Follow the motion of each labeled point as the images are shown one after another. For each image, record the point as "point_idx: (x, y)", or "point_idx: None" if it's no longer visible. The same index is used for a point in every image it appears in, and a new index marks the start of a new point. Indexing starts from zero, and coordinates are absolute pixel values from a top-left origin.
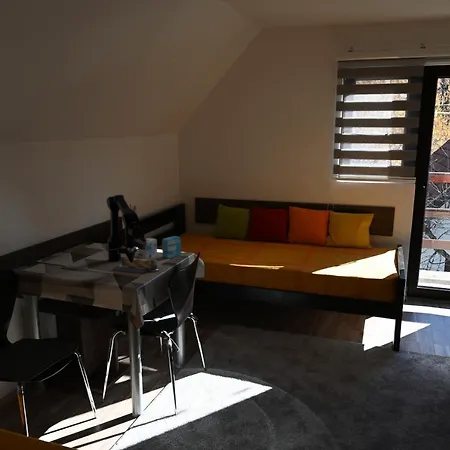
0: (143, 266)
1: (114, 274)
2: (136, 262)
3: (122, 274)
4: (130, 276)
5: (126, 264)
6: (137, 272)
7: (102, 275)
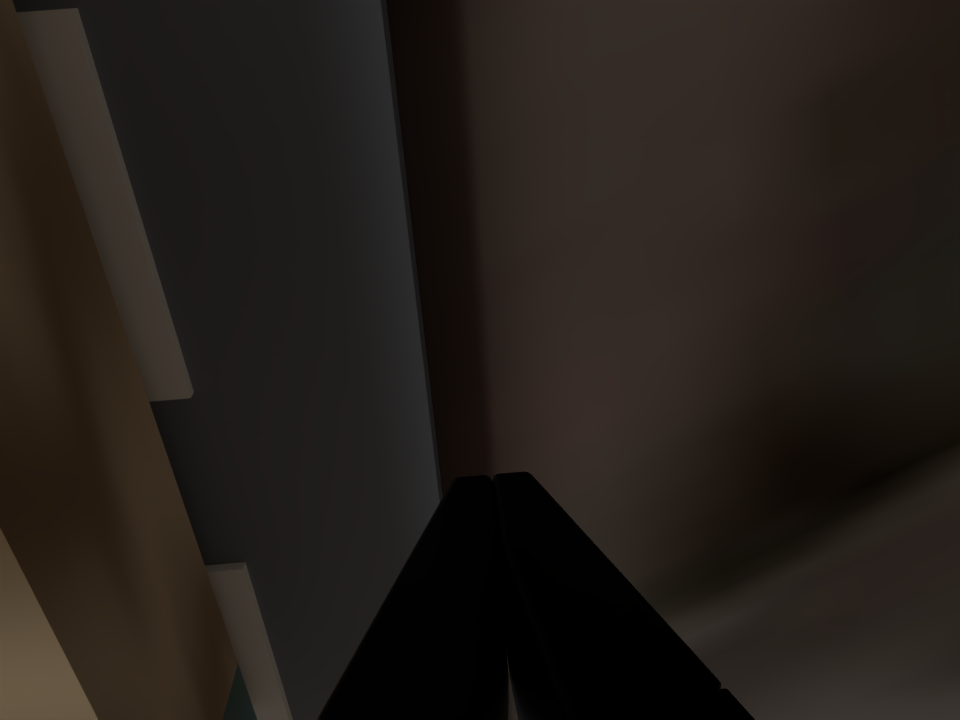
0: (15, 73)
1: (732, 570)
2: (61, 450)
3: (696, 428)
4: (843, 129)
5: (215, 666)
6: (401, 135)
7: (837, 703)
